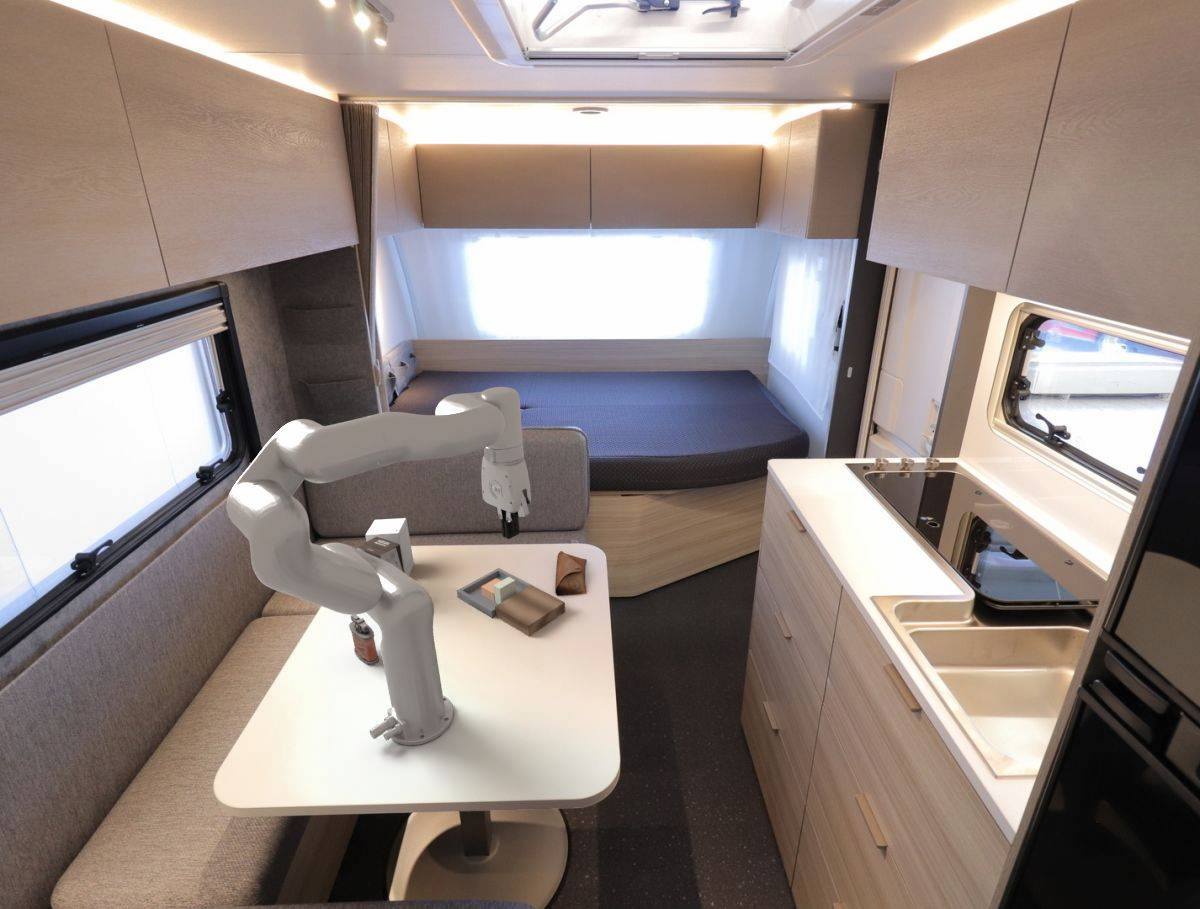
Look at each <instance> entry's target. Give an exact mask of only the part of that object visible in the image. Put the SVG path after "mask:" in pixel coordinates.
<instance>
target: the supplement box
mask: <svg viewBox="0 0 1200 909" xmlns="http://www.w3.org/2000/svg"><path fill="white" fill-rule="evenodd" d="M409 531H410V530H409V526H408V521H407V518H406V517H403V518H385V519H374V521H373V522H372V524H371V525H370V527H369V528H368V530H367V532H366V533H365V536H364V537H365V539H366V540H365V541H366V542H367V541H369V540H371V539H373V538H375V537H380V538H383V539H386V540H389V541H391V542H394V543H397V544H400V549H401V555H402V561H403V567H404V573H405V574H406V575H408V576H409V577H410V575H411V573H412V571H413V568H414V565H415V561H414V556H413V549H412V545H411V544H412V543H411V538H410V533H409Z"/></svg>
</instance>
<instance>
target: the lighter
mask: <svg viewBox="0 0 1200 909" xmlns="http://www.w3.org/2000/svg"><path fill="white" fill-rule="evenodd" d="M350 619H351V620H350V621H351V622H350V623H349V624H348V625H349V626H348V627H349V630H350V631H351V632H350V633H351V637H352V641H353V645H354V649H353V650H354V654H355V655H356V657H357V659H358V660H359V661H360V662H362V663H363V664H365V665H367V666H369V667H371V666H375V665H377V664H378V663H379V662H380V658H379V657H380V656H379V655H378V652H377V647H376V642H375V641H376V640H375V632H374V630H373V629H372V627H371V626H370V625H368V623H367V622H366V620H365V619H364V618H363V617H362V618H361V617H359V616H358V614H357V615H350Z"/></svg>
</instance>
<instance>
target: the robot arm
mask: <svg viewBox="0 0 1200 909" xmlns="http://www.w3.org/2000/svg"><path fill="white" fill-rule="evenodd" d="M520 399H521V398H520V394H519V393H518V391H517V390H516V389H514V388H513V387H509V386H497V387H491V388H490V387H489V388H487V389H484V390H483V391H476V392H467V393H466V392H465V393H454V394H450V395H448V396H445V397H444V398H443V399H441V400H440V401H439V402H438V404H437V406H436V407H435V412H434V415H432V414H429V415H427V414H419V413H418V414H416V413H409V412H404V411H402V412H401V411H385V412H384V411H383V412H379V413H376V414H372V415H367V416H362V417H359V418H356V419H355V418H354V419H351V420H347V421H343V422H337V423H334V424H333V423H332V424H330V425H322V424H320V423H318V422H316V421H314V420H312V419H306V418H300V419H295V420H292V421H290V422H288V423H286V424H285V425H283V426H282V427H281V428H280V429H279V430H277V431H276V432H275V434H274V435H273V436H272V437H271V438H270V439H269V440H268V441H267V443H266V444H265V445H264V446H263V448H262V449H261V450H260V451H259V453H258V454H257V456H256V457H255V458H254V459H253V460H252V462H251V463H250V464H249V465H248V467H247V468H246V469H245V470H244V472H243V473H242V475H240V477H239V478H238V479H237V481H236V482H235V484H234V485H232V486H233V487H232V488H231V489H230V492H229V493H228V495H227V500H226V513H227V516H228V518H229V519H230V521H231V523H232V524H233V525H234V526H235V527H236V528H237V529H238V530H239V531H240V532H241V533H242V534H243V536H244V537H245V538H247V540H248V543H249V550H250V563H251V567H252V570H253V572H254V574H255V576H256V578H257V579H258V580H259V582H261V584H262V585H264V586H266V587H268V588H269V589H271V590H274V591H277V592H279V593H282V594H285V595H287V596H291V597H293V598H297V599H299V600H302V601H304V602H308V603H309V604H314V605H317V606H320V607H322V608H325V609H328V610H330V611H333V612H336V613H338V614H342V615H349V616H351V615H357V616H358V615H363V614H365V613H366V614H368V616H369V617H370V618H371V619H372V620H373V621H374V622H375V623H376V625H378V627H379V629H380V631H381V642H380V654H381V659H382V660H381V661H382V665H383V669H384V674H385V679H386V684H387V690H388V695H389V699H390V700H389V701H390V704H391V705H390V706H391V707H390V708H388V709H387V716H386V717H384V719H383V720H384V721H382V722H381V723H379V724H376V725H375V726H374V727H372V728H371V729H369V734H370V737H371V738H372V739H373V740H376V739H378V738H379V737H380V736H383V738H384V740H385V741H386V742H388V741H389V740H390V739H392V740H393V741H394V742H396V743H398V744H401V745H405V746H417V745H418V746H419V745H422V744H426V743H428V742H432V741H433V740H435V739H437V738H438V737H440V736H441V735H442V734H444V733H445V732H446V731H447V730H448V728H450V726H451V725H452V723H453V719H454V716H455V715H454V714H455V713H454V712H455V710H454V707H453V703H452V701H451V700H450V699H449V698H448V697H447V696H445V695H444V694H443V687H442V681H441V676H440V675H441V674H440V668H439V661H438V656H437V649H436V643H435V637H434V615H435V614H434V613H435V608H434V602H433V599H432V597H431V595H430V593H429V592H428V591H427V590H426V588H425V587H423V586H422V585H421V584H420V583H419V582H417V581H416V580H415V579H414V578H412V577H411V576H410V575H409V576H408V575H406V574H405V573H404V572H402V571H401V570H400V569H398V568H397V567H395V566H394V565H392V564H391V563H389V562H386V561H384V560H382V559H379V558H377V557H375V556H372V555H370V554H368V553H365V552H363V551H361V550H358V549H357V547H356V548H355V547H354V546H350V545H349V544H346V543H341V542H328V543H324V544H321V545H319V544H317V543H312V541H311V538H310V522H309V521H310V520H309V516H308V513H307V510H306V509H305V507H304V506H303V504H302V503H301V502H300V501H299V500H297V498H296V497H294V496H293V495H294V494H295V493H296V491H297V490H298V488H300V486H301V485H302V483H303V482H304V480H305V481H308V482H310V483H313V484H327V483H332V482H333V483H334V482H336V481H339V480H342V479H346V478H348V477H353V476H356V475H359V474H361V473H365V472H368V471H373V470H375V469H379V468H382V467H386V466H390V465H393V464H396V463H401V462H402V463H403V462H419V461H427V460H438V459H447V458H454V457H461V456H463V455H468V454H470V453H473V452H477V451H480V450H482V449H483V453H484V454H483V456H482V460H481V475H480V476H481V478H480V479H481V494H482V500H483V501H484V502H485V503H487V504H488V505H491V506H493V507H494V508H495V509H496V511H497V514H498V518H499V519H500V524H501V534H502V537H503V538H505V539H507V540H510V539H513V538H514V537H515V536H518V535H519V534H520V525H519V518H521V517H522V518H524V517H528V516H529V514H530V511H529V507H530V506H531V502H532V493H531V484H530V483H531V482H530V477H529V471H528V467H527V463H526V459H525V455H524V443H523V429H522V428H523V427H522V415H521V414H522V413H521V400H520ZM386 731H387V732H386Z"/></svg>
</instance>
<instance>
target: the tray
mask: <svg viewBox="0 0 1200 909" xmlns="http://www.w3.org/2000/svg"><path fill="white" fill-rule="evenodd" d="M507 577H510V578H512V579H514V580H515V585H516V594H517V593H518V592H520V591H522V590H523V589H525V588H527V587H529V586H530V585H532V586H534V585H533V584H530V583H529V582H527V581H524V580H523V579H521V578H519V577H517V576H515V575H513V574H511V573H509V572H507V571H506V570H504V569H501V568H500V567H498V568H495V569H494V570H492V571H490V572H488V573H487V574H485V575H483V576H481V577H479V578H477V579H476V580H474V581H472V582H470V583H468V584H466V585H464V586H463V587H461V588H459V589H458V590H456V597H457V598H458V599H459V600H461V601H463V602H464V603H466V604H468V605H469V606H471V607H473V608H474V609H476V610H478V611H479V612H481V613H483V614H484V615H486V616H488V617H490V618H491V619H493V618H496V611H495V606H497V605H498V603H496V602H494V601H492V600H490V599H488V598H487V597H485V596H483V595H482V590H481V586H483V585H485V584H487V583H488V582H490V581H492V580H494V579H496V578H497V579H499V580H500V581H502V580H504V579H506V578H507ZM514 595H515V594H514ZM511 597H512V596H511ZM509 598H510V597H509ZM506 600H507V599H506ZM504 601H505V600H504ZM501 603H502V602H501ZM499 604H500V603H499Z"/></svg>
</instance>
